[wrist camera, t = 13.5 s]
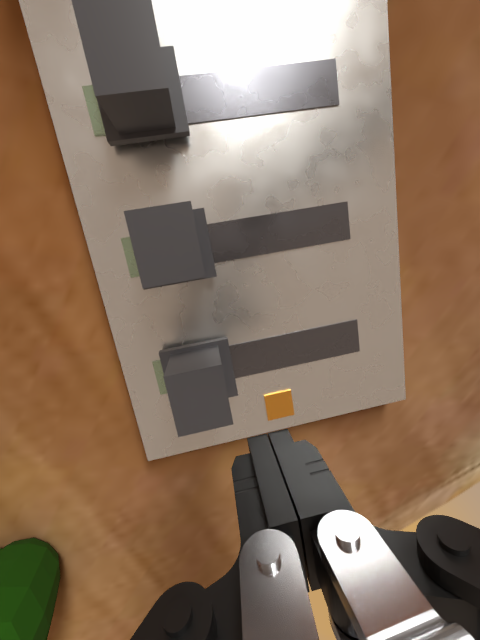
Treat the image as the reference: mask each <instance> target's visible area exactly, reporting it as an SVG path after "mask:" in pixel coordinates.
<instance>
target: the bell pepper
mask: <svg viewBox="0 0 480 640" xmlns="http://www.w3.org/2000/svg"><path fill="white" fill-rule="evenodd" d="M59 582H60V568H59V558H58V553H57V552H56V551H55V550H54V549H53V548H52V547H51V546H50V545H49V544H48V543H46V542H44V541H41V540H38V539H36V538H30V539H24V540H19V541H14V542H12V543H11V544H9V545H7V546H6V547H5V548H4V549H1V548H0V640H47V637H48V633H49V629H50V625H51V620H52V616H53V612H54V607H55V602H56V598H57V593H58V587H59Z"/></svg>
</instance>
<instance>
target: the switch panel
mask: <svg viewBox="0 0 480 640" xmlns="http://www.w3.org/2000/svg"><path fill="white" fill-rule="evenodd" d="M151 1H152V6H153V11H154V16H155V21H156V27H157V32H158V37H159V42H160V47H163V46H174V51H175V56H176V62H177V67H178V72H179V78H180V83H181V88H182V94H183V99H184V104H185V110H186V115H187V120H188V126H189V131H190V136H185V137H178V138H170V139H163V140H155V141H147V142H140V143H132V144H124V145H117V146H110V145H109V143H108V142H107V138H106V134H105V130H104V126H103V122H102V118H101V114H100V110H99V106H98V102H97V98H96V97H95V94H94V90H93V85H92V81H91V77H90V73H89V69H88V65H87V61H86V57H85V53H84V49H83V45H82V41H81V37H80V33H79V29H78V25H77V21H76V17H75V13H74V9H73V5H72V1H71V0H19V3H20V7H21V10H22V14H23V17H24V21H25V24H26V28H27V32H28V35H29V39H30V42H31V46H32V49H33V53H34V56H35V60H36V64H37V67H38V71H39V74H40V78H41V81H42V85H43V89H44V92H45V96H46V99H47V103H48V106H49V110H50V114H51V117H52V121H53V124H54V128H55V131H56V135H57V138H58V142H59V146H60V149H61V153H62V156H63V160H64V163H65V167H66V171H67V174H68V178H69V181H70V185H71V188H72V192H73V195H74V199H75V203H76V206H77V210H78V213H79V217H80V220H81V224H82V228H83V231H84V235H85V238H86V242H87V245H88V249H89V252H90V256H91V260H92V263H93V267H94V270H95V274H96V277H97V281H98V285H99V288H100V292H101V295H102V299H103V302H104V306H105V309H106V313H107V317H108V320H109V324H110V327H111V331H112V334H113V338H114V342H115V345H116V349H117V352H118V356H119V359H120V363H121V367H122V370H123V374H124V377H125V381H126V384H127V388H128V391H129V395H130V399H131V402H132V406H133V409H134V413H135V416H136V420H137V424H138V427H139V431H140V434H141V438H142V441H143V445H144V448H145V452H146V456H147V459H148V461H151V460H155V459H159V458H163V457H168V456H172V455H176V454H180V453H184V452H188V451H193V450H197V449H201V448H205V447H209V446H213V445H218V444H222V443H226V442H230V441H234V440H238V439H242V438H247V437H251V436H255V435H259V434H263V433H267V432H272V431H276V430H280V429H284V428H288V427H292V426H296V425H301V424H305V423H309V422H313V421H317V420H321V419H326V418H330V417H334V416H338V415H342V414H346V413H350V412H355V411H359V410H363V409H367V408H371V407H375V406H380V405H384V404H388V403H392V402H396V401H400V400H405V399H406V395H405V373H404V352H403V331H402V309H401V288H400V267H399V245H398V224H397V203H396V181H395V160H394V139H393V118H392V96H391V75H390V54H389V32H388V11H387V0H151ZM186 201H191V205H192V209H199V208H204V211H205V216H206V221H207V227H208V232H209V237H210V243H211V248H212V253H213V259H214V264H215V269H216V275H217V277H211V278H206V279H200V280H195V281H189V282H184V283H178V284H173V285H167V286H162V287H156V288H151V289H145V290H144V289H143V288H142V284H141V280H140V276H139V272H138V268H137V263H136V259H135V255H134V251H133V247H132V243H131V239H130V235H129V231H128V227H127V223H126V219H125V215H124V211H127V210H133V209H140V208H147V207H153V206H160V205H166V204H173V203H179V202H186ZM222 337H227V338H228V343H229V349H230V354H231V359H232V365H233V370H234V375H235V380H236V386H237V391H238V396H234V397H230V398H228V399H229V404H230V409H231V414H232V419H233V425H229V426H225V427H220V428H216V429H212V430H208V431H203V432H199V433H195V434H190V435H186V436H182V437H178V434H177V430H176V426H175V422H174V418H173V414H172V410H171V406H170V402H169V398H168V394H167V390H166V386H165V382H164V377H163V376H164V373H163V369H162V365H161V361H160V357H159V351H160V350H163V349H168V348H173V347H178V346H183V345H188V344H193V343H198V342H203V341H208V340H213V339H217V338H222Z"/></svg>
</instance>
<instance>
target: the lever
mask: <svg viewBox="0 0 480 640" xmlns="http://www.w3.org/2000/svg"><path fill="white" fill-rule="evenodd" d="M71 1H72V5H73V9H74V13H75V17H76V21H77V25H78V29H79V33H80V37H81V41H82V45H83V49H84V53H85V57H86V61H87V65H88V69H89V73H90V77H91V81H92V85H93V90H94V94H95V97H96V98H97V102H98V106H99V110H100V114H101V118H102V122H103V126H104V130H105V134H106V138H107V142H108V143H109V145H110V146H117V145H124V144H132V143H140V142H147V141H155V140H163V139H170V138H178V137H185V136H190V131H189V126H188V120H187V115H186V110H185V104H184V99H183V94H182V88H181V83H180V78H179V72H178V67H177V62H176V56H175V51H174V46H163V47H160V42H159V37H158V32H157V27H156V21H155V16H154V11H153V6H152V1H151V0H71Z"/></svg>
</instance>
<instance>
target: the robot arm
mask: <svg viewBox="0 0 480 640" xmlns="http://www.w3.org/2000/svg"><path fill="white" fill-rule="evenodd" d="M247 440H248V446H249V451H250V453H249V454H245V455H240V456H236V458H235V460H234V463H233V466H232V476H233V483H234V491H235V499H236V507H237V514H238V522H239V529H240V537H241V547H240V552H239V555H238V558H237V560H236V562H235V564H234V565H233V567H232V568H231V569H230V570H229V571H228V573H227V574H226V575H224V576H223V577H222V578H221V579H219V580H218V581H216V582H215V583H213V584H212V585H210V586H209V587H208V588H206V589H204V588H203V587H202V586H201V585H199V584H197V583H194V582H182V583H179V584H177V585H174V586H173V587H171V588H169V589H168V590H167V591H166V592H164V593H163V594H162V595H161V596H160V598H159V599H158V600H157V601H156V603H155V604H154V606H153V607H152V609H151V610H150V611H149V613H148V614H147V616H146V617H145V619H144V620H143V622H142V623H141V625H140V626H139V628H138V629H137V630H136V632H135V633H134V635H133V636H132V638H131V639H130V640H319V637H318V633H317V629H316V625H315V621H314V617H313V613H312V608H311V604H310V600H309V596H308V592H309V586H308V581H309V584H310V587H311V590H312V591H314V590H317V589H322V592H323V595H324V598H325V600H326V603H327V606H328V612H329V618H330V624H331V627H332V630H333V632H334V635H335V637H336V639H337V640H480V529H479V528H476V527H474V526H472V525H469V524H467V523H465V522H463V521H460V520H458V519H455V518H452V517H449V516H443V515H432V516H428V517H425V518H423V519H422V520H421V521H420V522H419V523H418V525H417V529H416V532H404V531H391V530H385V529H381V528H378V527H375V526H373V525H372V524H371V523H370V522H369V521H368V520H367V519H366V518H364V517H363V516H361V515H359V514H357V513H356V512H355V511H354V509H353V508H352V506H351V504H350V503H349V501H348V499H347V498H346V496H345V495H344V493H343V491H342V490H341V488H340V486H339V485H338V483H337V481H336V480H335V478H334V476H333V475H332V473H331V471H329V468H328V466H327V465H326V463H325V461H323V458H322V456H321V455H320V453H319V451H318V450H317V448H316V447H315V446H313V445H312V444H310V443H309V442H308V441H306V440H302V441H298V442H294V441H293V439H292V437H291V435H290V433H289V431H288V429H283V430H279V431H275V432H271V433H268V436H267V434H263V435H259V436H254V437H250V438H247ZM307 578H308V580H307Z"/></svg>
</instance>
